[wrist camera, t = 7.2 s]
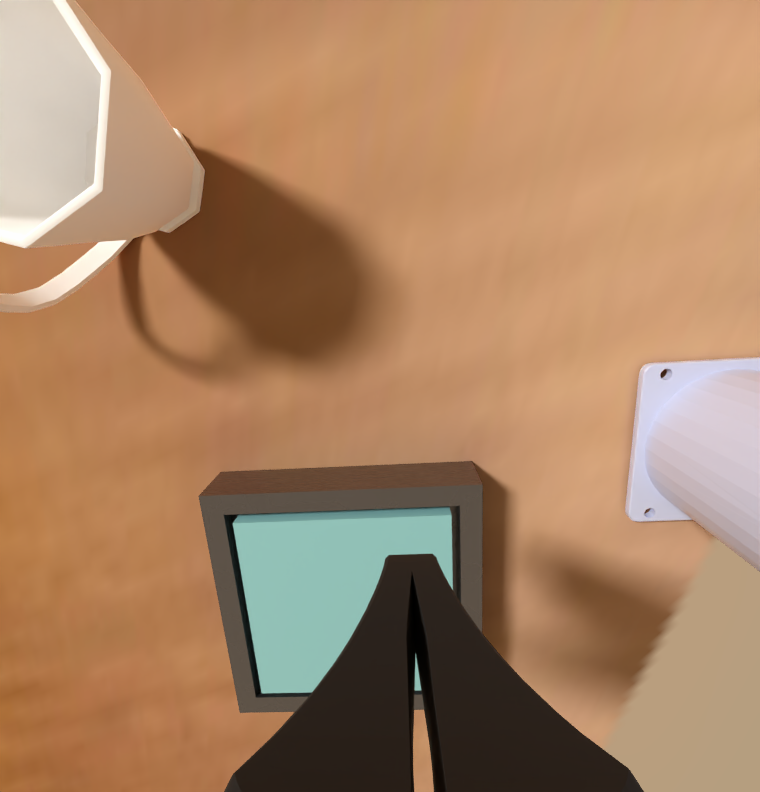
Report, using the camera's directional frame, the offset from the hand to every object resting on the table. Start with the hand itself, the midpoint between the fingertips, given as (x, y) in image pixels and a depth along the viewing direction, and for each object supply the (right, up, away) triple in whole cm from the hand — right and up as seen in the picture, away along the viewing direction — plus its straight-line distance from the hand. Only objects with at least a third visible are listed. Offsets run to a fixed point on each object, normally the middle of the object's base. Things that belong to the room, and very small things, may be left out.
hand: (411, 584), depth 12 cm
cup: (-11, +13, +7) cm, 19 cm away
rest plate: (-2, -5, +10) cm, 11 cm away
